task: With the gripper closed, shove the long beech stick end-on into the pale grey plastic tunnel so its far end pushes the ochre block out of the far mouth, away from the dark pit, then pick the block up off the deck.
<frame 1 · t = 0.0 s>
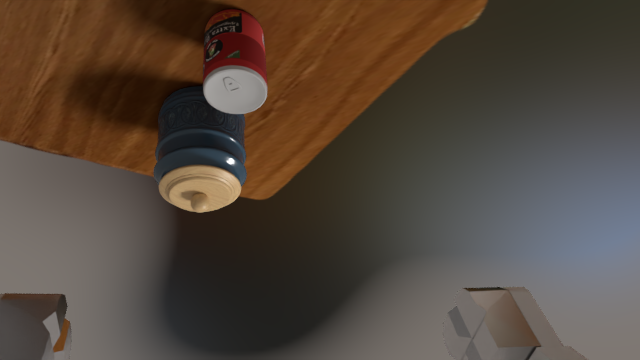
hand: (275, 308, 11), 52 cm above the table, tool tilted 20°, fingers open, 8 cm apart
canned food: (234, 30, 70), on the table
canister: (202, 112, 83), on the table
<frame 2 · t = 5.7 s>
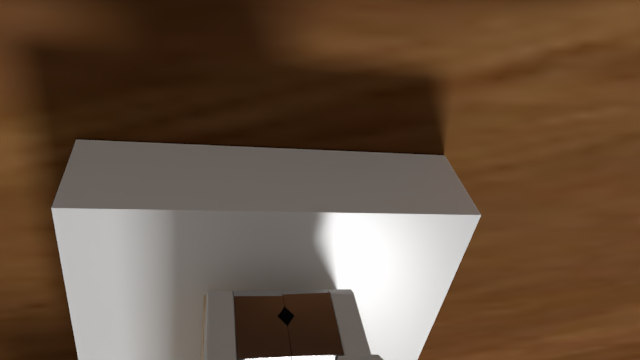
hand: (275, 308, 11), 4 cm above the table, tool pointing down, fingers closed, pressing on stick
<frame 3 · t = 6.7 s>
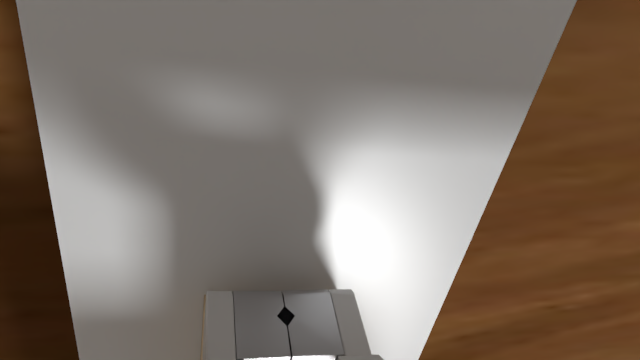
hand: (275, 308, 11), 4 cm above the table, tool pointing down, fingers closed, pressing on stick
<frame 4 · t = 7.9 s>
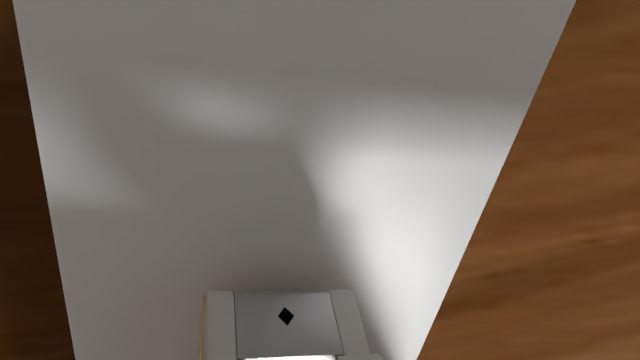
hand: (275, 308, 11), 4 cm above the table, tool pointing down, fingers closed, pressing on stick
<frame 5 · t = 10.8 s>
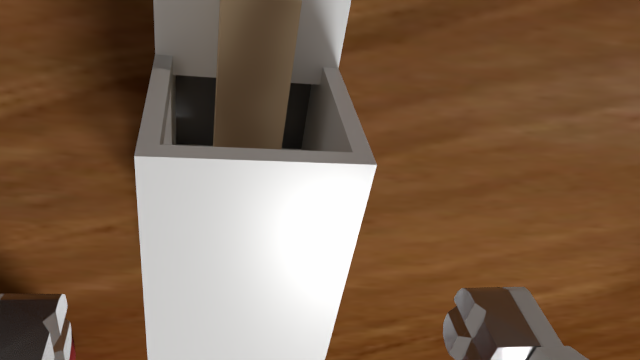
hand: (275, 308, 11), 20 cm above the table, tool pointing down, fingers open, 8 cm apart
stick: (241, 155, 30), point 2 cm above the table, touching block, tunnel deck
tunnel deck: (239, 150, 32), on the table
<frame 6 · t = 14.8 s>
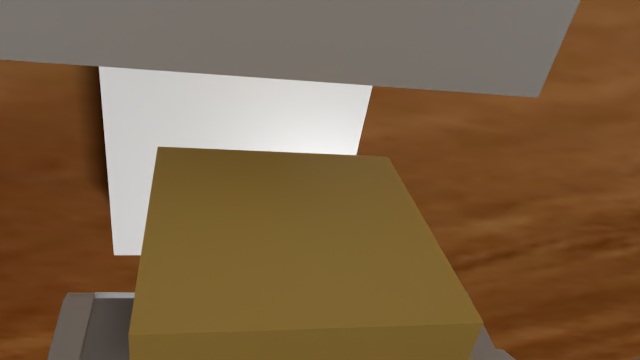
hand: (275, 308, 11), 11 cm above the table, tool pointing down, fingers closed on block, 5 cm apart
block: (267, 242, 13), point 9 cm above the table, touching gripper
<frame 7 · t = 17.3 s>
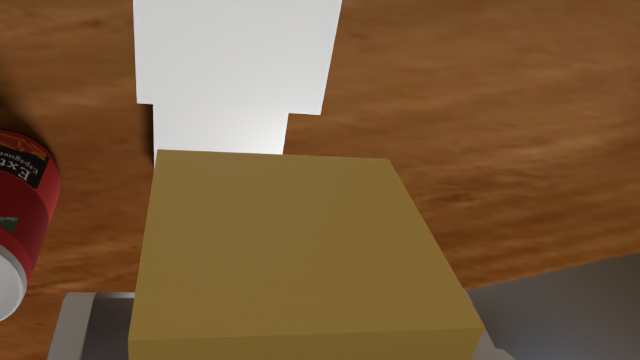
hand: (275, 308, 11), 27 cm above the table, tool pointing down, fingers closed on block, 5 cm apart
canned food: (7, 170, 39), on the table
block: (267, 245, 13), point 25 cm above the table, touching gripper
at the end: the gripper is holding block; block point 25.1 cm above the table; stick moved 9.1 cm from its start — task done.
